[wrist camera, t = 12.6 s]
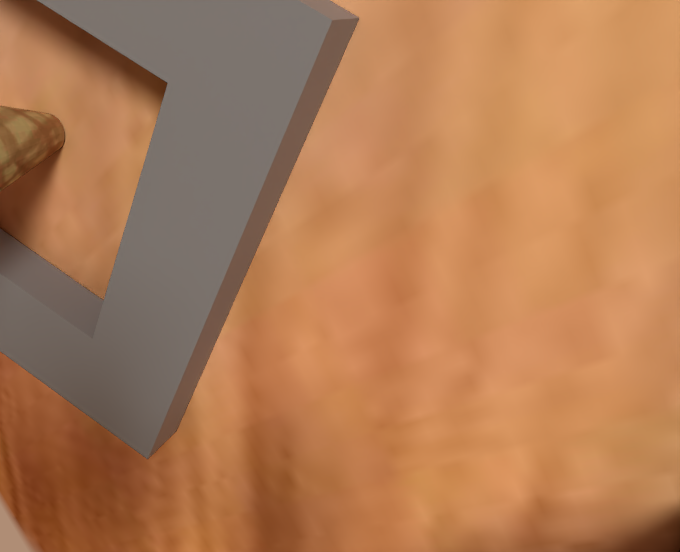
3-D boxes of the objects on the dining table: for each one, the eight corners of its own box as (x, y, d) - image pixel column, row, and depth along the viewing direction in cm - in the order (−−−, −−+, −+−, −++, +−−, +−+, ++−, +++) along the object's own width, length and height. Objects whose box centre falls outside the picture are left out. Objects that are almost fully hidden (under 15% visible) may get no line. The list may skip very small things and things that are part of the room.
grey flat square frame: (359, 17, 18) (332, 20, 16) (176, 430, 28) (147, 459, 26) (-130, -270, 20) (-199, -295, 18) (-138, 204, 30) (-184, 217, 28)
